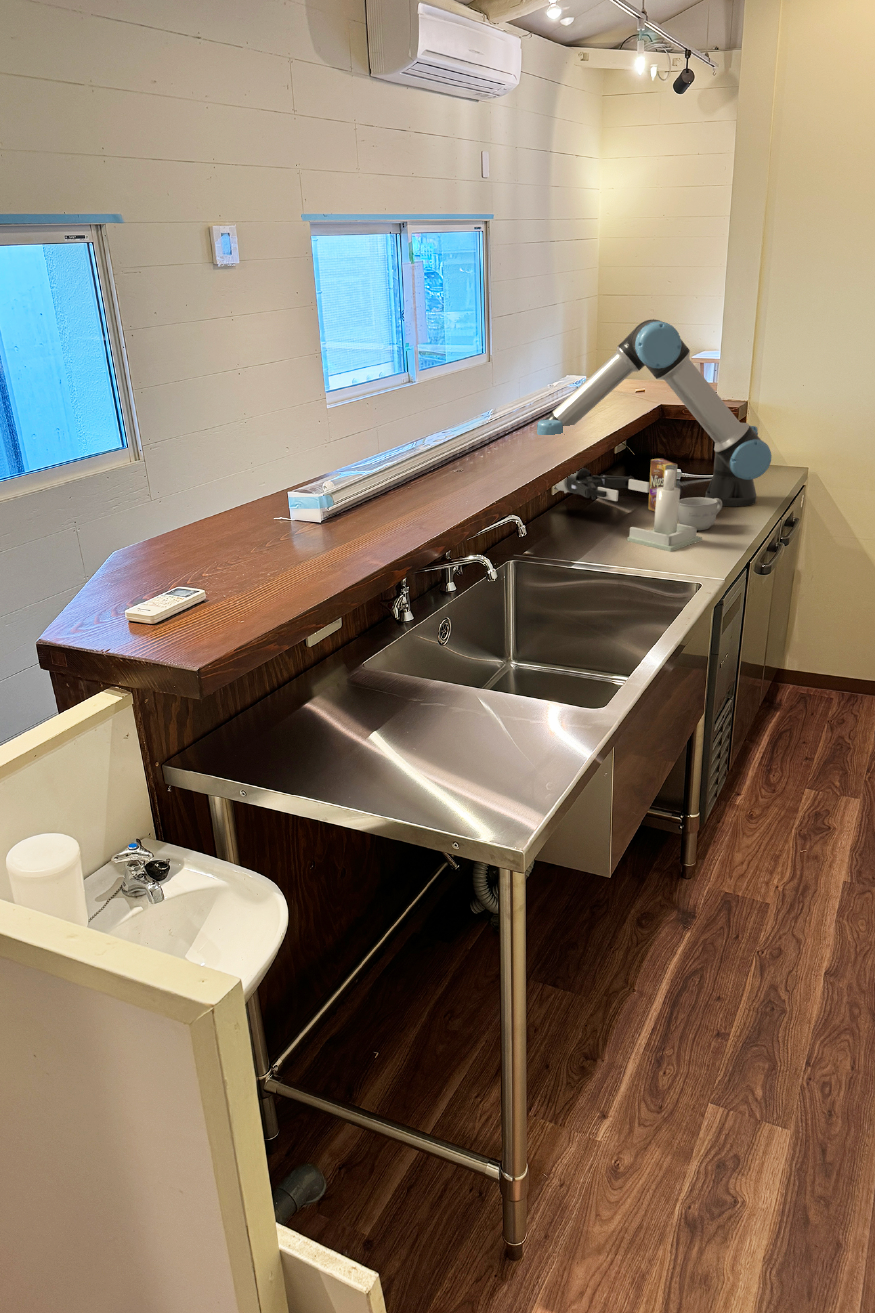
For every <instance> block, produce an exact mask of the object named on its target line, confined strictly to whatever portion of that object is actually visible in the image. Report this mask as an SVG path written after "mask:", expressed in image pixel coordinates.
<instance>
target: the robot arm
mask: <svg viewBox="0 0 875 1313" xmlns="http://www.w3.org/2000/svg"><path fill="white" fill-rule="evenodd" d="M690 354H691V350H690V348H689V347H688V346H687V345H686V344H685V343H684V341H683V339H681V336H680V334H679V332H678V330H677V329H676V328H675V327H674V326H673V325H671V324H670V323H668V322H665V321H661V320H659V319H647V320H645V321H643V322H641V323H639V324H638V325H636V326H635V328H634V329H633V330H632V331H631V332H630V333H629V334H628V335H627V336H626V337H625V338H624V340H622V341H621V343H619V344H618V345H617V347H616V352H615V353H613V354H612V355H611V356H610V358H609V359H607V360H606V361H605V362H604V363H603V364H602V365H601V366H600V367H599V368H597V369H596V370H595V371H594V372H593V373H592V374H591V375H590V376H589V377H588V378H587V379H585V381H584V382H582V383H581V385H580V386H578V387H577V388H576V389H574V391H572V393H571V394H569V396H567V398H565V399H564V400H563V401H562V402H561V403H560V404H559V405H558V406H557V407H556V408H555V409H553V410H552V411H551V413H550V414H548V415H547V416H546V417H545V418H543V419H541V420H539V421H538V422H537V423H538V424H537V423H536V425H537V434H538V435H555V434H561V433H563V426H570V425H574V426H575V425H577V423H578V422H579V421H581V420H582V418H584V417H585V416H586V415H587V414H588V413H590V412H591V411H592V410H593V409H594V408H595V407H596V406H597V405H599V403H600V402H601V401H603V399H605V398H606V397H607V396H608V395H609V394H610V393H611V392H612V391H614V390H615V389H616V388H617V387H618V386H619V385H620V384H621V383H622V382H624V380H626V379H627V378H628V377H629V376H630V375H631V374H633V373H635V372H637V373H638V372H640V371H641V370H642V369H643V368H644V367H646V369H648V371H649V372H650V374H652V375H653V377H654V378H655V379H656V380H661V381H665V383H666V384H667V385H668V387H669V388H670V389H671V390H672V392H673V393H674V394H675V395H676V396H677V398H678V399H679V400H680V401H681V403H683V405H684V406H685V407H686V409H687V410H688V411H689V413H690V414H691V415H692V416H693V417H694V418H695V420H696V421H697V422H698V423H699V425H700V426H701V427H702V428H703V430H704V431H705V432H706V433H707V435H708V436H709V437H710V439H712V440H713V442H714V448H713V450H714V453H715V454H714V463H713V475H712V478H710V479H711V480H710V482H709V485H708V487H707V489H706V491H705V497H704V498H712V499H715V498H718V499H720V500H721V501H722V507H747V506H751V505H754V504H756V503H757V492H756V486H755V482H754V480H756V479H758V478H759V477H761V476H762V475H764V474H765V473H766V472H767V471H768V469H769V467H770V466H771V462H772V458H773V457H772V451H771V449H770V446H769V445H768V443H767V442H765V441H764V440H762V439H761V438H760V437H759V435H758V434H759V431H758V426H755V425H750V424H749V423H747V422H740V420H739V419H738V418H737V417H736V416H735V414H734V413H733V412H732V411H731V409H730V408H729V407H728V406H727V405H726V403H725V402H724V400H722V398H721V397H720V396H719V395H718V393H717V392H716V391H715V389H714V388H713V387H712V385H710V383H709V382H708V381H707V379H706V378H705V377H704V376H703V375H702V373H701V372H700V370H699V369H698V368H697V367H696V365H694V363H693V361H692V360H691V359H690ZM581 468H582V469H580V470H579V471H576V473H574V474H571V475H570V476H568V478H566V479H565V480H563V481H562V482H560V483H559V484H557V486H555V488H554V489H553V490H557V491H562V492H563V494H567V493H571V494H573V495H574V494H575V495H580V496H582V497H584V498H586V499H589V498H591V500H593V501H596V500H597V498H598V499H604V500H609V501H613V502H618V501H619V500H618V499H619V490H617V489H616V488H621V489H622V488H623V489H628V490H630V491H631V490H632V491H636V492H637V491H638V492H642V493H647V494H648V493H649V488H650V481H643V480H638V479H635V477H634V476H632V475H629V476H623V475H622V476H620V475H619V476H617V475H607V474H600V475H598V474H597V475H595V474H594V475H592V473H591V472H590V469H587V468H585V467H581ZM611 488H615V489H611ZM717 505H718V503H717Z"/></svg>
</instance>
